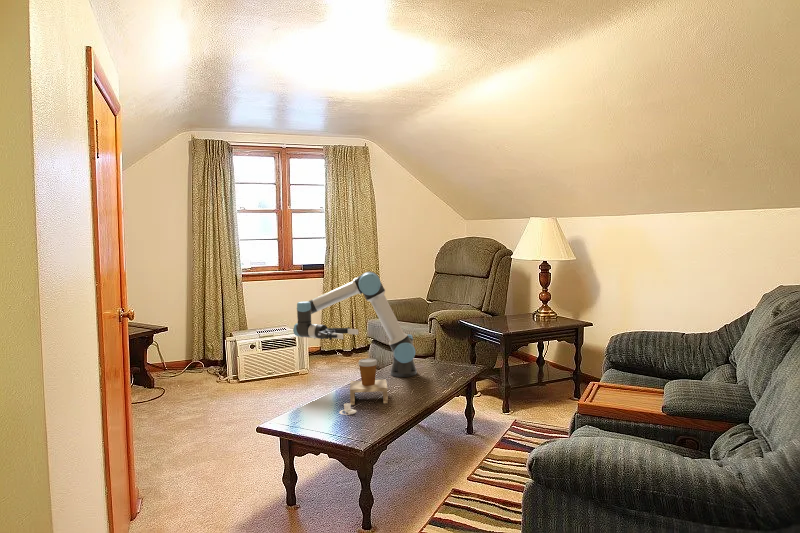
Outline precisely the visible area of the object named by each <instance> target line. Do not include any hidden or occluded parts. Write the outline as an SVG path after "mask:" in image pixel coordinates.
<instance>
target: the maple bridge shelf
mask: <svg viewBox="0 0 800 533" xmlns="http://www.w3.org/2000/svg"><path fill="white" fill-rule="evenodd" d="M349 382H350V383H349V386H350V387H349V395H350V396H349V397H350V398H349V399H350V400H349V401H350V402H349V403H350V404H351V406H355V403H356V393H375V392H382V394H381V395H382V402H383V404H388V403H389V399H388V398H389V396H388V385H387V384H388V383H387V379H386V378H383V379H375V384H374V385H371V386H365V385H362V380H361V379H360V380H350V381H349Z"/></svg>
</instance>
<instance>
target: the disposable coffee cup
mask: <svg viewBox="0 0 800 533" xmlns="http://www.w3.org/2000/svg"><path fill="white" fill-rule="evenodd" d="M357 364H358V366H359V367H358V368H359V371H360V378H361V379H360V380H362V385H365V386H371V385H374V384H375V380H376V374H377V365H378V361H377V359H376V358H372V357H370V358H368V357H367V358H361V359H359V360H358V363H357Z"/></svg>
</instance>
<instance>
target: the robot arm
mask: <svg viewBox="0 0 800 533" xmlns="http://www.w3.org/2000/svg"><path fill="white" fill-rule="evenodd" d="M385 293H386V289H385V288H384V286H383V284H382V282H381V279H380V277H379V275H378V274H377V273H376V272H374V271H371V270H370V271H366V272H364V273H363V272H362V273H361V274H360V275H359V276H356V277H354V278H353V280H352V281H350V282H348V283H346V284H344V285H341V286H339V287H337V288H334V289H332V290H330V291H328V292H325V293H323V294H321V295H319V296H316V297H314V298H313V299H310V300H308V301H306V300H305V301H298V302H297V304H296V314H297V316H296V318H297V323H295V324H294V325H293V329H292V330H293V332H292V333H293V334H294V335H295V336H296V337H300V338H312V339H314V340H315V339H319V340H320V339H321V340H325V339H326V340H328V339H329V340H330V341H331V340H333V339H336V340H344V334H348V335H355V336H357V335H359V333H360V332H359V329H357V328H351V327H349V326H347V327H332V328H331V327H328V326H327V325H325V324H318V323H312V315H313V314H314V313H318V312H320V311H322V310H324V309H326V308H329V307H331V306H333V305H335V304H337V303H339V302H340V303H341V302H342V301H344V300H346V299H349V298H352V297H353V296H355V295H362V294H363V296H364V298H365V301H367V302H370V305H371V306H372V307H373V310H374V312H375V314H376V315H377V318H378V319H379V322H380V323H381V325H382V327H383V329H384V331H385V334H386V335H387V337H388V339H389V341H388V346H389V347H390V348H391V349H390V350H391V351H392V357H393V358H392V360H393V361H392V364H391V368H390V376H393V377H395V378H396V377H397V378H409V377H414V376H416V375H417V374H418V373H417V368H416V364H415V362H414V358H415V356H416V348H415V345H414V338H413V334H408V333H406V332H404V331H403V329H402V327H401V325H400V323H399V320H398V319H397V317H396V315H395V312H394V311H393V309H392V307H391V305H390V304H389V301H388V300H387V297H386V295H385Z"/></svg>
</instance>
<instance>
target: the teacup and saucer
mask: <svg viewBox="0 0 800 533" xmlns="http://www.w3.org/2000/svg"><path fill="white" fill-rule="evenodd" d="M351 406H352V405H351V404H350V402H346V403H344V404H343V408H344V409H341V410H339V412H338V413H339V414H340V415H346V416H347V415H353V414H354V415H355V414H356V413H357V409H353V408H352V407H351ZM343 412H344V413H343Z"/></svg>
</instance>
